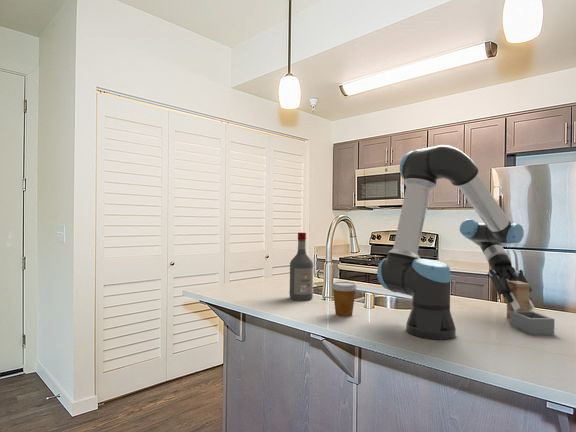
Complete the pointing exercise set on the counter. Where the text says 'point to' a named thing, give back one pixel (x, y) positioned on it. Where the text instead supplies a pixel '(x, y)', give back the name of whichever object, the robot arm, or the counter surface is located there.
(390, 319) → the counter surface
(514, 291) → the tan tall block
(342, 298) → the disposable coffee cup
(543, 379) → the counter surface
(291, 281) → the liquor
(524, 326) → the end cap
